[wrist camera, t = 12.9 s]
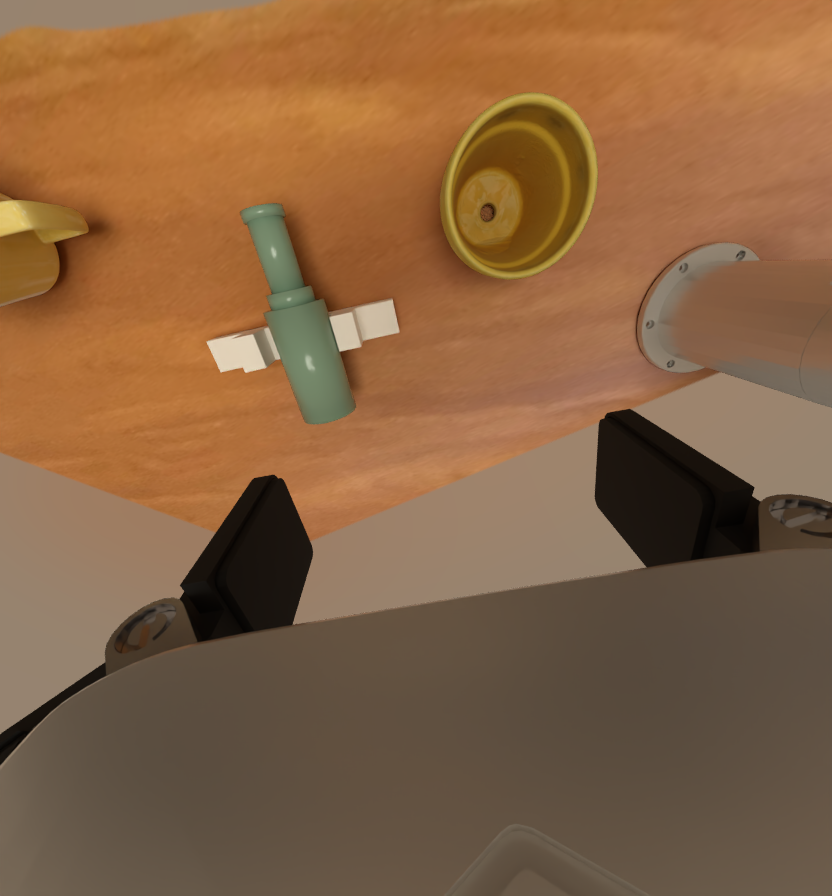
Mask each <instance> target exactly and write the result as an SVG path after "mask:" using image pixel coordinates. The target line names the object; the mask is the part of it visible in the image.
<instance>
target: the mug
mask: <svg viewBox="0 0 832 896" xmlns="http://www.w3.org/2000/svg"><path fill="white" fill-rule="evenodd" d="M88 231H89V228H88V225H87V223H86V221H85V219H84V218H83V216H82V215H81V214H80V213H79V212H78V211H77V210H75V209H72V208H69V207H65V206H60V205H55V204H48V203H42V202H35V201H26V200H13V199H12V198H10V197H8V196H6V195H4V194H1V193H0V307H1V306H4V305H7V304H11V303H14V302H17V301H20V300H24V299H27V298H31V297H34V296H38V295H41V294H43V293H45V292H47V291H48V290H49V289H50V288H51V287H52V286H53V285H54V284H55V282H56V280H57V278H58V275H59V267H60V264H59V256H58V252H57V249H56V246H55V244H54V242H57V241H60V240H64V239H68V238H72V237H75V236H79V235H82V234H85V233H87V232H88Z"/></svg>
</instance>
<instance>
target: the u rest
mask: <svg viewBox="0 0 832 896" xmlns="http://www.w3.org/2000/svg"><path fill="white" fill-rule="evenodd" d="M328 314H329V318H330V322H331V325H332V328H333V332H334V335H335V338H336V342H337V345H338V348H339V352H340V351H345V350H349V349H354V348H358V347H361V346H362V343H363V341H364V340H368V339H373V338H377V337H382V336H386V335H391V334H395V333H399V327H398V323H397V318H396V313H395V309H394V304H393V299H392V298H389V299H385V300H380V301H376V302H371V303H367V304H362V305H358V306H354V307H349V308H345V309H340V310H336V311H331V312H328ZM207 344H208V346H209V348H210V350H211V352H212V354H213V357H214V359H215V361H216V363H217V365H218V367H219V369H220V372H224V371H228V370H233V369H237V368H242V367H243V369H244V371H245V372H250V371H254V370H259V369H264V368H267V367H268V366H269V365H270V364H272V363H273V362H274V361H275V360H278V359H280V356H279V353H278V351H277V348H276V346H275V343H274V340H273V338H272V335H271V332H270V330H269V327H268V326H265V327H260V328H256V329H251V330H247V331H242V332H238V333H233V334H229V335H225V336H220V337H216V338H214V339H211V340H209V341H207Z"/></svg>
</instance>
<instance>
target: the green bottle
mask: <svg viewBox="0 0 832 896" xmlns="http://www.w3.org/2000/svg"><path fill="white" fill-rule="evenodd" d="M240 215H241V218H242V220H243V223H244V224H245V225H247V226H248V229H249V232H250V235H251V237H252V240H253V243H254V246H255V248H256V251H257V254H258V257H259V259H260V262H261V265H262V268H263V271H264V273H265V276H266V279H267V282H268V284H269V287H270V290H271V293H272V294H271V295H267V296H266V297H267V300H268V303H269V305H270V308H271V310H270V311H267V312H264V313H263V314H264V317H265V319H266V322H267V325H268V327H269V330H270V332H271V335H272V338H273V340H274V343H275V346H276V348H277V351H278V353H279V356H280V359H281V361H282V364H283V367H284V369H285V372H286V375H287V377H288V380H289V382H290V385H291V388H292V390H293V393H294V396H295V398H296V401H297V403H298V406H299V409H300V411H301V414H302V417H303V419H304V422H305V423H307V424H323V423H328V422H332V421H335V420H338V419H340V418H343V417H345V416H347V415H348V414H350V413H351V412H353V411H354V410H355V408H356V404H355V401H354V397H353V394H352V391H351V387H350V384H349V380H348V377H347V374H346V370H345V367H344V364H343V360H342V357H341V354H340V352H339V348H338V345H337V342H336V338H335V335H334V332H333V328H332V325H331V322H330V318H329V314H328V310H327V307H326V303H325V300H324V298H323V299H315V295H314V292H313V289H312V286H306V287H305V284H304V280H303V277H302V274H301V271H300V268H299V265H298V261H297V258H296V255H295V252H294V249H293V246H292V243H291V239H290V236H289V233H288V230H287V227H286V224H285V220H284V217H286V215H285V212H284V209H283V205H282V204H277V203H273V204H263V205H257V206H253V207H249V208H246V209H244V210H242V211H240Z"/></svg>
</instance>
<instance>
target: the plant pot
mask: <svg viewBox="0 0 832 896" xmlns="http://www.w3.org/2000/svg"><path fill="white" fill-rule="evenodd" d="M597 181H598V165H597V156H596V150H595V147H594V143H593V140H592V138H591V135H590V133H589V130H588V128H587V127H586V125H585V123H584V122H583V120H582V119H581V117H580V116H579V115H578V114H577V113H576V111H575V110H574V109H573V108H571V107H570V106H569V105H568V104H566V103H565V102H564V101H562V100H560V99H558V98H556V97H553V96H551V95H548V94H543V93H530V92H527V93H520V94H516V95H513V96H509V97H507V98H505V99H503V100H501V101H499V102H497V103H495V104H494V105H492V106H491V107H489V108H488V109H486V110H485V111H484V112H483V113H482V114H481V115H479V116H478V117H477V118H476V119H475V120H474V122H473V123H472V124H471V125H470V126H469V127H468V129H467V130H466V131H465V133H464V134H463V136H462V137H461V139H460V140H459V142H458V143H457V145H456V147H455V149H454V151H453V153H452V155H451V157H450V159H449V162H448V164H447V167H446V170H445V173H444V176H443V180H442V185H441V192H440V214H441V220H442V225H443V229H444V232H445V235H446V237H447V240H448V242H449V244H450V246H451V247H452V249H453V251H454V252H455V253H456V255H457V256H458V257H459V258H460V259H461V260H462V261H463V262H464V263H465V264H466V265H467V266H469V267H470V268H472V269H473V270H475V271H477V272H479V273H481V274H484V275H486V276H490V277H494V278H499V279H521V278H526V277H530V276H533V275H535V274H538V273H540V272H542V271H544V270H545V269H547V268H549V267H550V266H552V265H553V264H555V263H556V262H557V261H558V260H560V259H561V258H562V257H563V256H564V255H565V254H566V253H567V252H568V251H569V250H570V248H571V247H572V246H573V245H574V244H575V242H576V241H577V239H578V238H579V236H580V234H581V233H582V231H583V229H584V227H585V225H586V223H587V221H588V219H589V216H590V213H591V211H592V207H593V204H594V200H595V196H596V190H597ZM485 205H490V206H492V207H493V209H494V216H493V218H492V219H491V220H489V221H484V220H482V218H481V209H482V208H483V206H485Z"/></svg>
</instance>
